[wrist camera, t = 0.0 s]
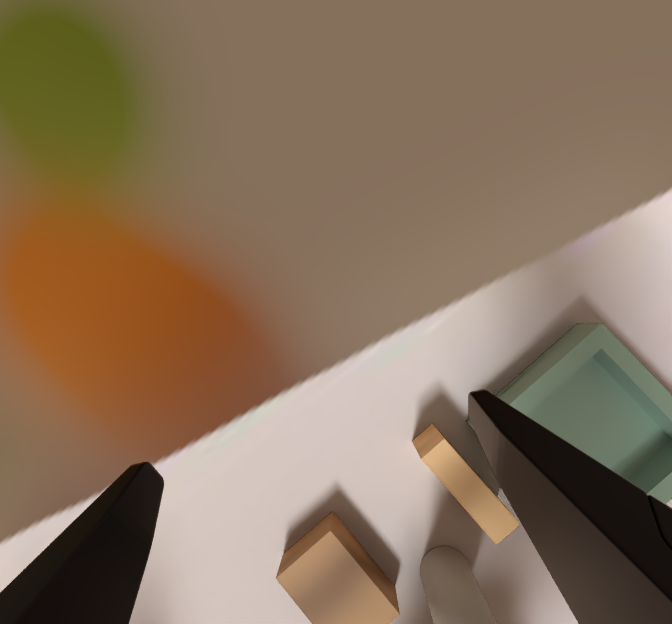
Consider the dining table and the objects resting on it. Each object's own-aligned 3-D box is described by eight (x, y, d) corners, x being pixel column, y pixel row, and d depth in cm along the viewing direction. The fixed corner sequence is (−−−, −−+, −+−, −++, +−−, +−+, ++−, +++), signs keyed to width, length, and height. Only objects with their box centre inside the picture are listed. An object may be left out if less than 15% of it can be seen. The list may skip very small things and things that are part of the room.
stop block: (497, 497, 22) (520, 524, 19) (477, 515, 22) (496, 545, 19) (432, 423, 23) (444, 438, 20) (412, 441, 23) (421, 458, 20)
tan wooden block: (394, 582, 23) (399, 614, 20) (344, 625, 23) (343, 663, 20) (332, 508, 23) (330, 530, 21) (284, 550, 23) (275, 578, 21)
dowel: (480, 575, 22) (528, 669, 16) (443, 607, 22) (477, 713, 16) (446, 535, 22) (481, 613, 16) (409, 567, 22) (430, 657, 16)
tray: (688, 438, 22) (726, 451, 19) (572, 539, 22) (596, 563, 19) (577, 323, 22) (602, 323, 20) (466, 421, 22) (478, 431, 20)
